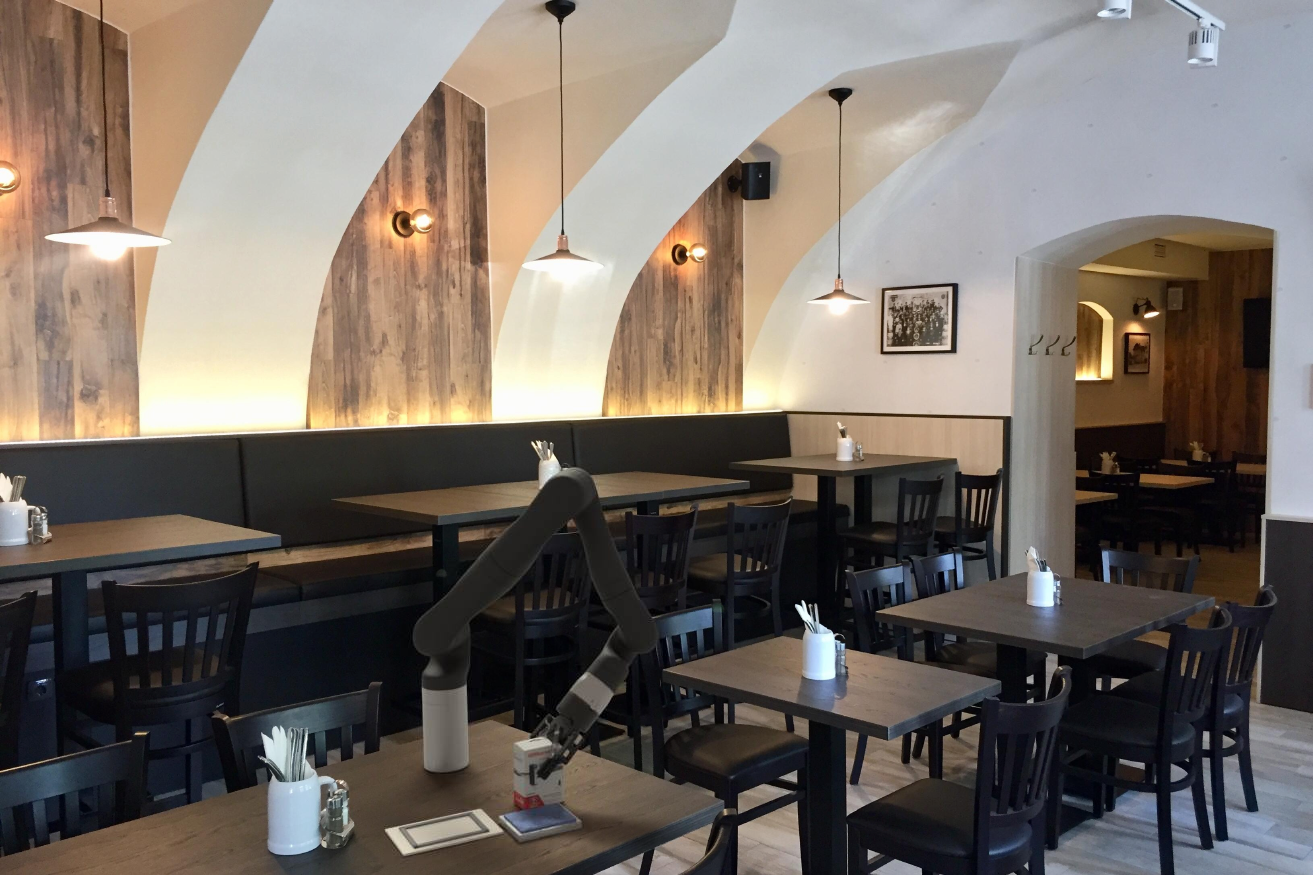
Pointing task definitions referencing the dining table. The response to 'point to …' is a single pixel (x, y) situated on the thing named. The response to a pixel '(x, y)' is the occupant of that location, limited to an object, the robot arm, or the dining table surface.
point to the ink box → (535, 775)
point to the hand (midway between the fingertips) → (531, 770)
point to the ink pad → (539, 822)
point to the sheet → (443, 832)
